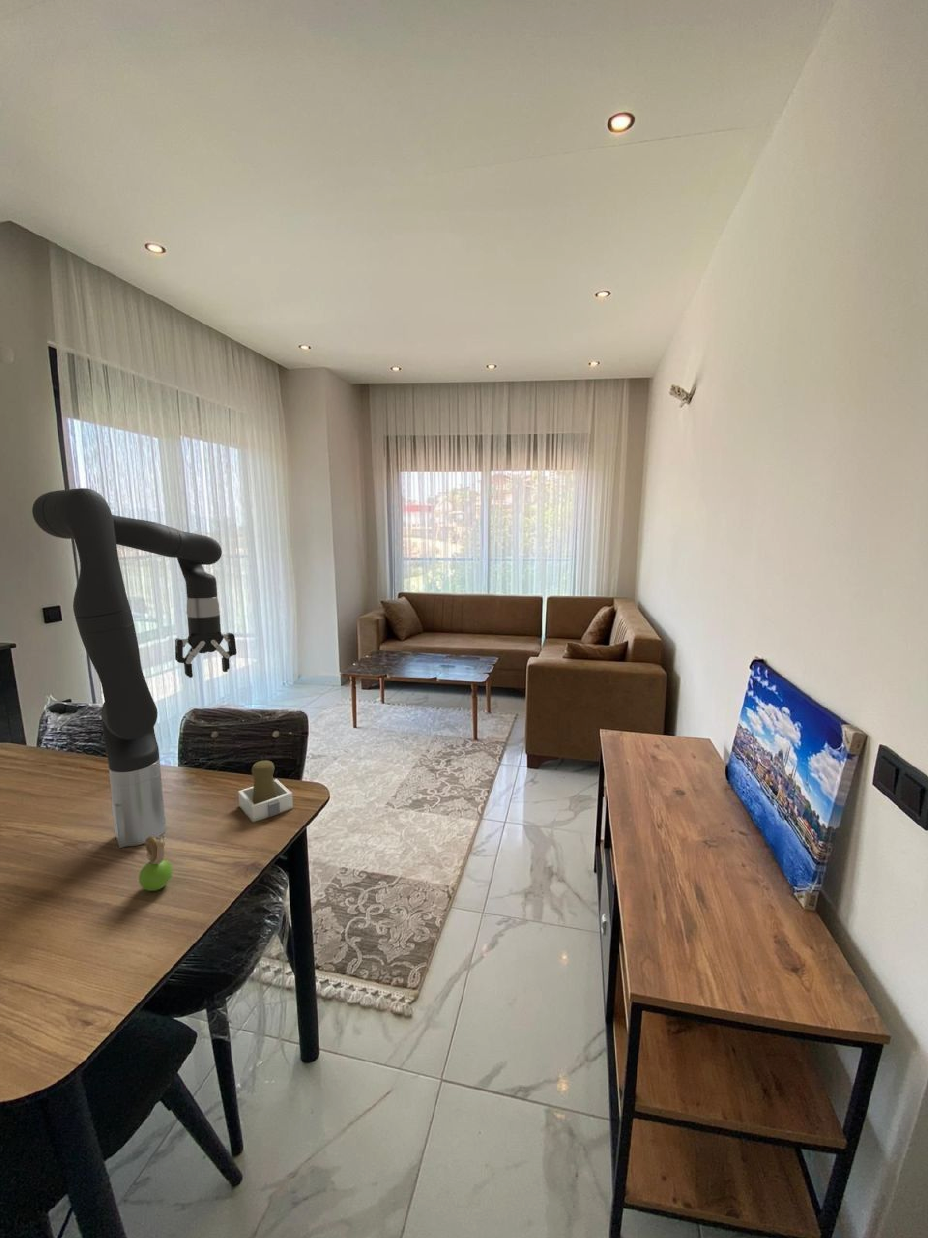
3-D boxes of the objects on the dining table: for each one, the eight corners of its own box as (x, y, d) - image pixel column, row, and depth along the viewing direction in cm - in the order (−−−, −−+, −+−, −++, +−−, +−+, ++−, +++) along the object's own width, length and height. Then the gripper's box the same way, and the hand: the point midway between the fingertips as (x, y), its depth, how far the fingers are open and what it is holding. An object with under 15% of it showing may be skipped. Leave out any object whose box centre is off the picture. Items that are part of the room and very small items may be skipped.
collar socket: (254, 824, 114) (253, 809, 113) (239, 806, 122) (238, 791, 121) (294, 809, 120) (293, 794, 120) (277, 793, 128) (276, 778, 127)
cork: (268, 812, 118) (266, 769, 116) (246, 809, 119) (243, 767, 117) (282, 799, 124) (280, 758, 122) (261, 796, 125) (259, 756, 123)
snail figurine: (152, 904, 89) (145, 844, 87) (134, 890, 92) (128, 832, 90) (182, 886, 94) (176, 829, 92) (164, 874, 97) (159, 818, 95)
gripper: (176, 618, 120) (181, 682, 122) (237, 613, 129) (240, 672, 132) (169, 615, 125) (174, 676, 128) (227, 610, 135) (231, 667, 137)
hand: (208, 674), depth 130 cm, fingers open, 8 cm apart
